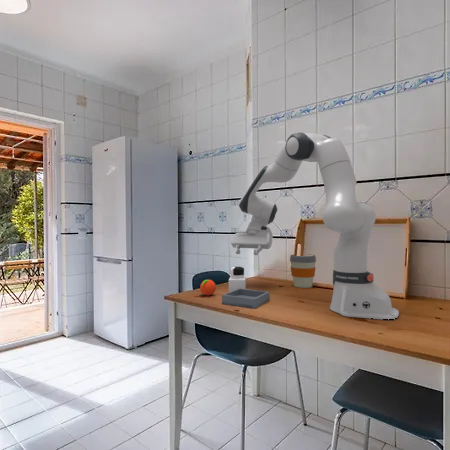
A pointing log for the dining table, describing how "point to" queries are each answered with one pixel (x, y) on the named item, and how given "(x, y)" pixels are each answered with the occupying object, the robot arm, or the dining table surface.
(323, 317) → the dining table surface
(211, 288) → the clementine
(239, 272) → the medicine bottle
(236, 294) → the tray
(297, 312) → the dining table surface
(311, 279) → the reusable coffee cup
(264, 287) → the dining table surface
